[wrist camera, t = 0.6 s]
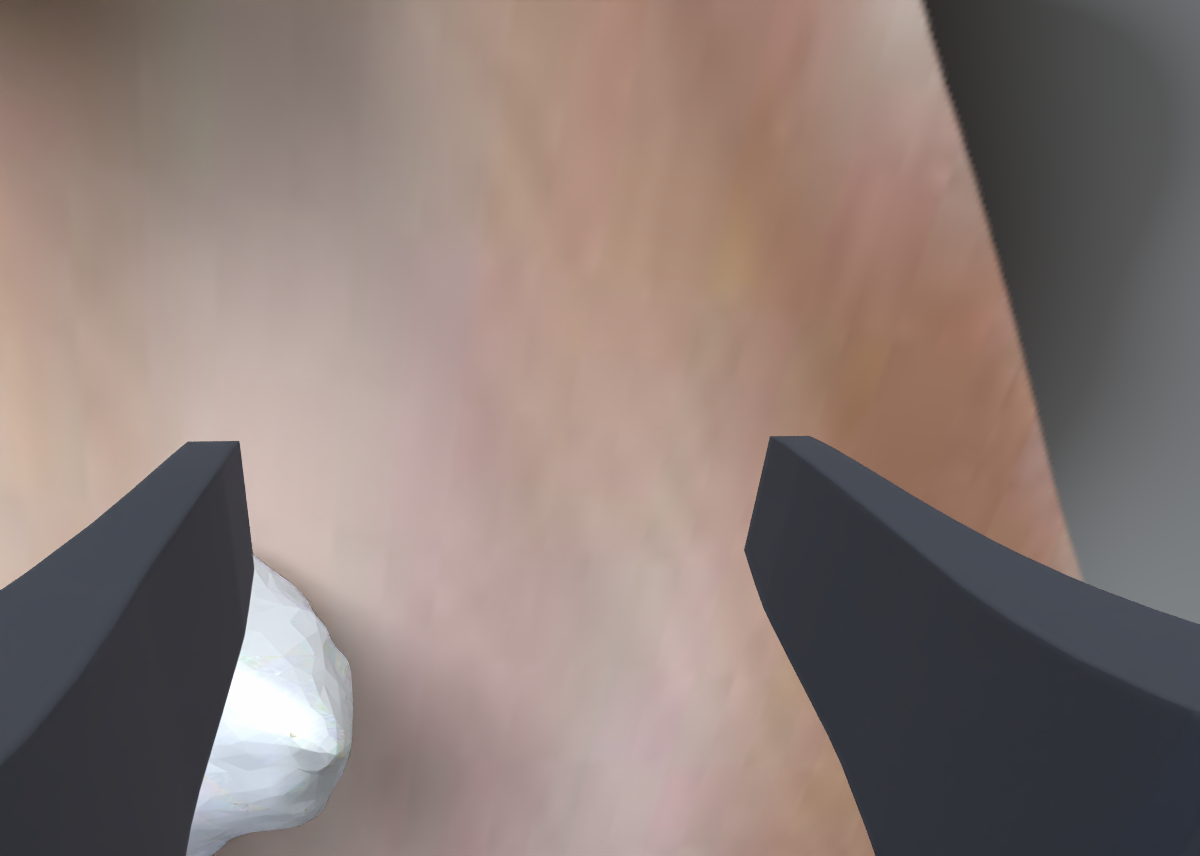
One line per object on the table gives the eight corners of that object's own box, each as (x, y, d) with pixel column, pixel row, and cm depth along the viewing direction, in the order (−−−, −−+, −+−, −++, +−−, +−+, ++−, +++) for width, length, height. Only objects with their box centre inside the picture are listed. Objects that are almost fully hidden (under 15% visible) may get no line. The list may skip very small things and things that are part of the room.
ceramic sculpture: (460, 990, 17) (-240, 1283, 17) (454, 699, 25) (-27, 899, 25) (163, 580, 13) (-783, 973, 13) (267, 382, 21) (-318, 624, 21)
